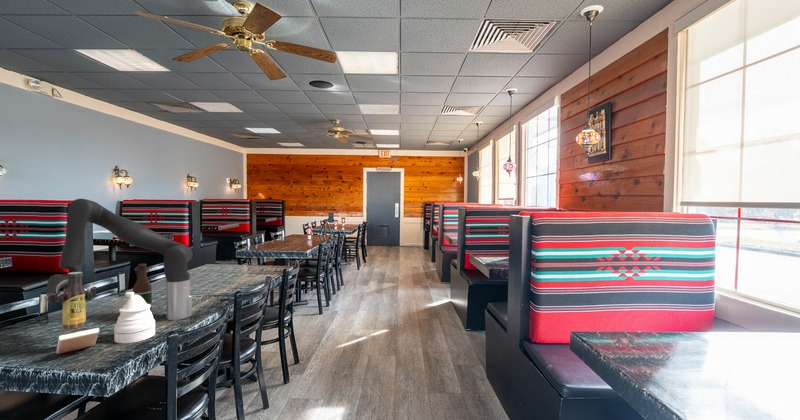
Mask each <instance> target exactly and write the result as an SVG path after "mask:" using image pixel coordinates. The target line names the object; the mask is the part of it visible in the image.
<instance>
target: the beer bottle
mask: <svg viewBox="0 0 800 420" xmlns="http://www.w3.org/2000/svg"><path fill="white" fill-rule="evenodd" d="M147 276H148V274H147V263H139V264H137V279H136V282H135V284H134V285H133V288H132V292H134V295H136V294H137V295H139V296H141V297H142V298H143V299H144V300H145V302H146V303H147V304H150V305H151V307H150V308H149V309H150V311H151V312H152V310H153V309H152V308H153V303H152V302H153V299H152V298H153V296H152V295H153V294H152V291H153V289H152V285H151V283H150V281H149V280H148V277H147ZM152 313H153V312H152Z"/></svg>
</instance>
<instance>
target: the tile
mask: <svg viewBox="0 0 800 420" xmlns="http://www.w3.org/2000/svg"><path fill="white" fill-rule="evenodd" d="M99 334H100V328H99V327H97V328H92V329H91V328H90V329H86V330H80V331H75V332H71V333H67V334H62V335H59V336H58V341H57V345H56V355H61V354H63V353H70V352H72V351H77V350H82V349H85V348H90V347H94V346H95V345H96V342H97V339H98V337H99Z"/></svg>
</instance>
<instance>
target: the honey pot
mask: <svg viewBox="0 0 800 420" xmlns="http://www.w3.org/2000/svg"><path fill="white" fill-rule="evenodd" d="M125 297H127V298H128V299H127V300H126V302H125V304H124V305H123V306H122V307H121V308H119V309H118V312H119V313H120V314H119V315H118V317H117V321H116V324H115V325H114V335H113V337H114V342H115V343H117V344H128V343H129V344H131V343H137V342H141V341H144V340H147V339H150V338H152V337H154V336H155V335H156V319H154V315H153V312H151V311H150V309H149V308H150V307H151V305H150V304H147V303H146V302H145V300H144V299H143V298H142V297H141V296H139V295H137V294H136V295H134V292H133V291H127V292H126V293H125Z"/></svg>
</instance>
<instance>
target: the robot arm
mask: <svg viewBox="0 0 800 420" xmlns="http://www.w3.org/2000/svg"><path fill="white" fill-rule="evenodd" d="M66 218H67V219H66V232H65V239H64V243H63V244H64V245H63V247H62V248H63V249H62V252H61V255H60V259H59V262H58V267H59V268H60V269H63V270H64V269H66V270H69V271H71V272H82V265H83V260H84V257H85V253H86V238H85V232H86V231H85V230H86V226H87V224H88V223H90V224H91V223H92V224H95V225H96V226H99V227H101V228H104V229H105V230H108V231H109V232H110V233H111V234H113V235H114V236H115V237H117V238H118V239H120V240H122V241H123V242H125V243H127V244H129V245H132V246H135V247H139V248H141V249H146V250H149V251H154V252H157V253H159V254H161V255H163V270H164V271H163V272H164V276H165V279H166V280H165V282H166V285H165V286H166V287H165V288H166V289H165V292H166V294H165V295H166V300H165V301H166V305H165V306H166V307H165V308H166V320H168V321H176V320H177V321H178V320H179V321H180V320H183V319H186V318H187V319H188V318H189V317H191V316H192V315H193V313H192V312H193V307H192V303H193V302H192V301H193V300H192V299H193V298H192V295H191V274H190V272H189V271H188V262H191V259H192V258H193V254H194V253H193V251H192V249H191V248H190V247H189V246H188V245H185V244H183V243H180V242H177V241H174V240H171V239H169V238H167V237H165V236H163V235H161V234H160V233H158V232H155V231H153V230H152V229H150V228H148V227H146V226H144V225H143V224H140V223H138V222H136V221H135V220H131V219H128V218H127V217H123V216H120V215H118V214H116V213H115V212H112V211H111V210H109V209H107V208H106V207H104V206H102V205H101V204H99V203H98V202H96V201H94V200H90V199H87V198H77V199H74V200H73V201H71V202H70V203H69V205H68V208H67V216H66ZM67 275H68V274H62V273H61V274H60V273H58V274H54V275H52V276H50V277H49V279H48V280H47V285H46V287H47V289H48V291H49V292H47V293H46V294H45V295H46V301H47V302H49V303H55V301H56V303H60V304H63V303H64V296H63V293H64V291H65V289H66V288H67V287H68V277H67ZM83 287H84V289H85V292H86V300H90V299H91V298H92V297H96V296H97V286H92V287H91V288H89V289H88V288H86V287H85V286H84V285H83Z"/></svg>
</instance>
